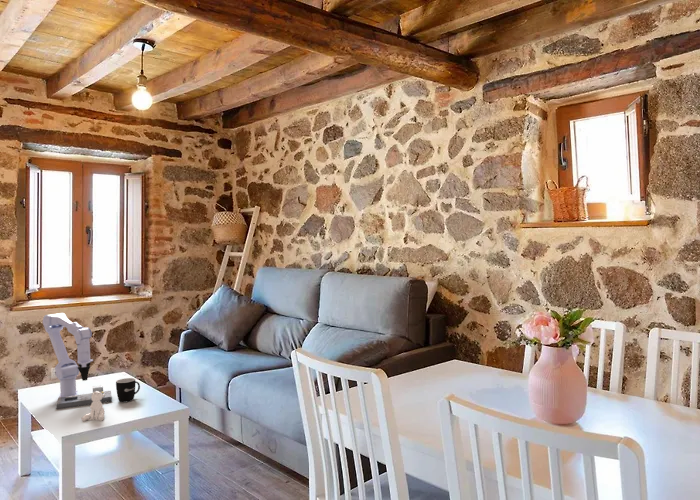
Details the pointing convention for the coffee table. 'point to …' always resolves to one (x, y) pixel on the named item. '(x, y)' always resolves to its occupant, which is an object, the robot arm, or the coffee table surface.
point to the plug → (97, 388)
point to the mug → (126, 389)
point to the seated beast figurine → (95, 408)
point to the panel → (81, 400)
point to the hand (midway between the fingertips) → (85, 378)
